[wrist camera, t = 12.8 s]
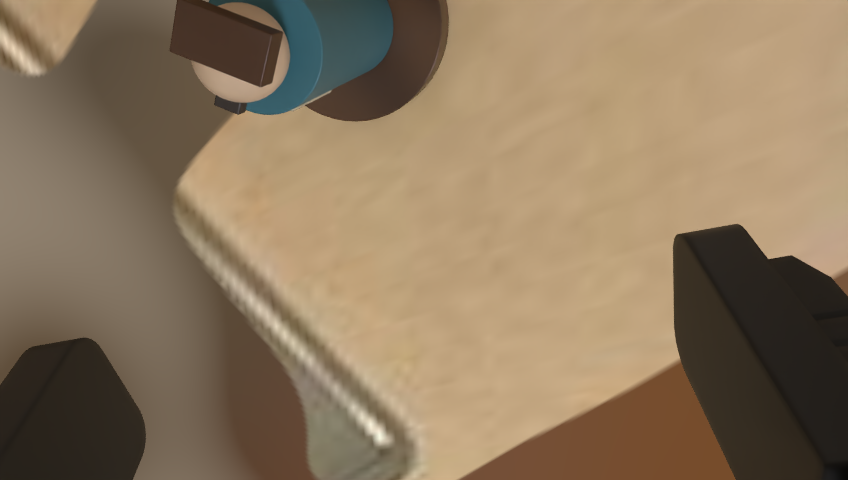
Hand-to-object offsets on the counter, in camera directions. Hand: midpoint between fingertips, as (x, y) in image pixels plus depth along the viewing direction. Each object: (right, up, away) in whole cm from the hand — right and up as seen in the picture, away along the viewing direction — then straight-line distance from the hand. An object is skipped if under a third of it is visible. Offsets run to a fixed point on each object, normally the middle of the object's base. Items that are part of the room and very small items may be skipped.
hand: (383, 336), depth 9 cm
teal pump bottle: (-3, +11, +20) cm, 23 cm away
